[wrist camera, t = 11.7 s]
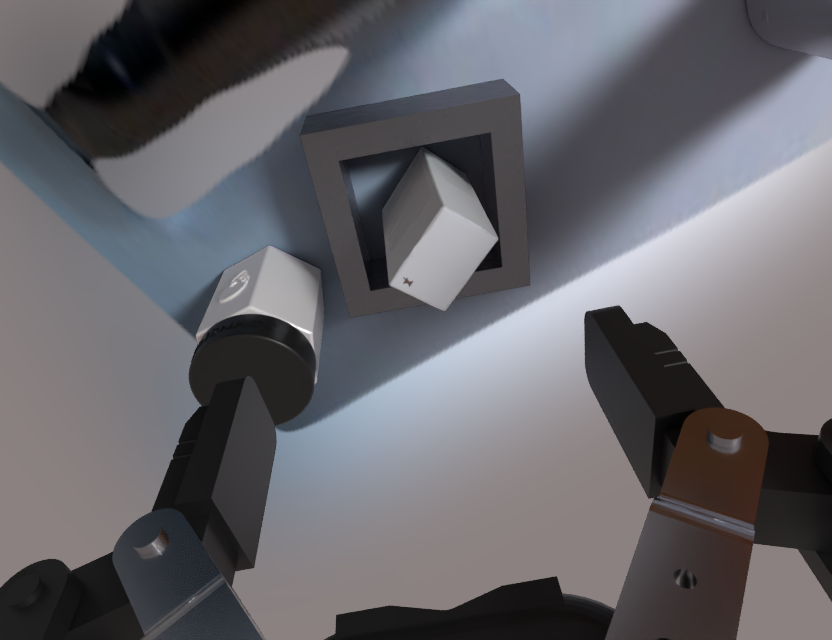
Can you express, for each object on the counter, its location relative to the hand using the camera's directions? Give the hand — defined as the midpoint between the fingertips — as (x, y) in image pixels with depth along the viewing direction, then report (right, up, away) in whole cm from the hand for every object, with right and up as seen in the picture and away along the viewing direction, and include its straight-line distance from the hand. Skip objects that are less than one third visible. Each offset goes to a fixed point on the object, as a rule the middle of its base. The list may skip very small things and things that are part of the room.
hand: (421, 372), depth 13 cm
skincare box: (0, +11, +30) cm, 32 cm away
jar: (-12, +4, +33) cm, 36 cm away
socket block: (0, +11, +29) cm, 31 cm away
